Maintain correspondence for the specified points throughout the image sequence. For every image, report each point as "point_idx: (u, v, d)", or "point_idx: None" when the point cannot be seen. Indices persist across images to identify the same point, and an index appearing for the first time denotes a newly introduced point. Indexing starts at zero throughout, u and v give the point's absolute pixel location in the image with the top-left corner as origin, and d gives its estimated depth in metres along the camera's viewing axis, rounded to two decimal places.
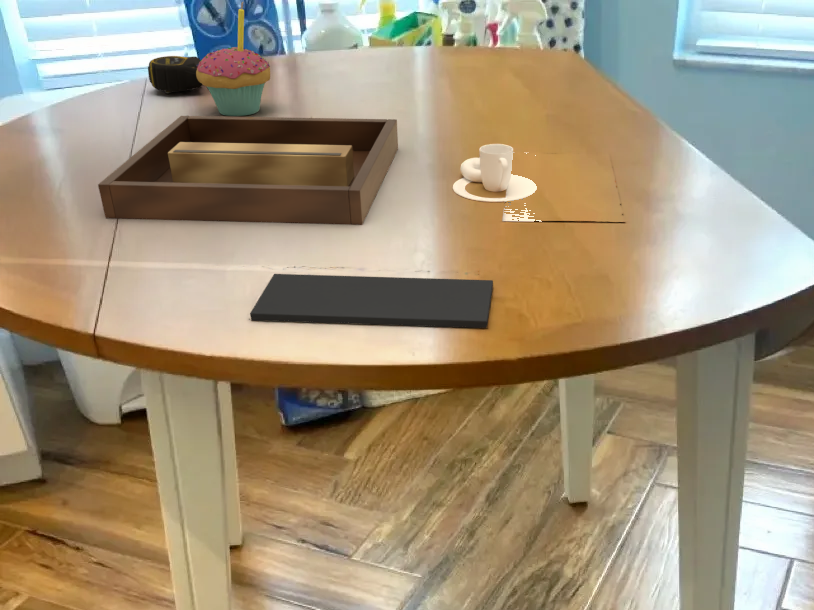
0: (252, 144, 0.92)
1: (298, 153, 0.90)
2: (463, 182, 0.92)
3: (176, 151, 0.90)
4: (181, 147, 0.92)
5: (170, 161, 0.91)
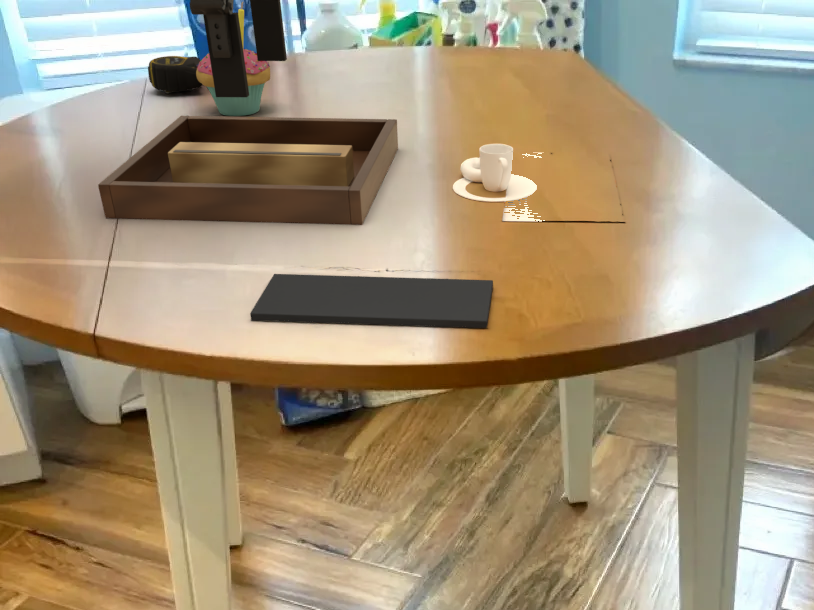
0: (252, 144, 0.92)
1: (298, 153, 0.90)
2: (463, 182, 0.92)
3: (176, 151, 0.90)
4: (181, 147, 0.92)
5: (170, 161, 0.91)
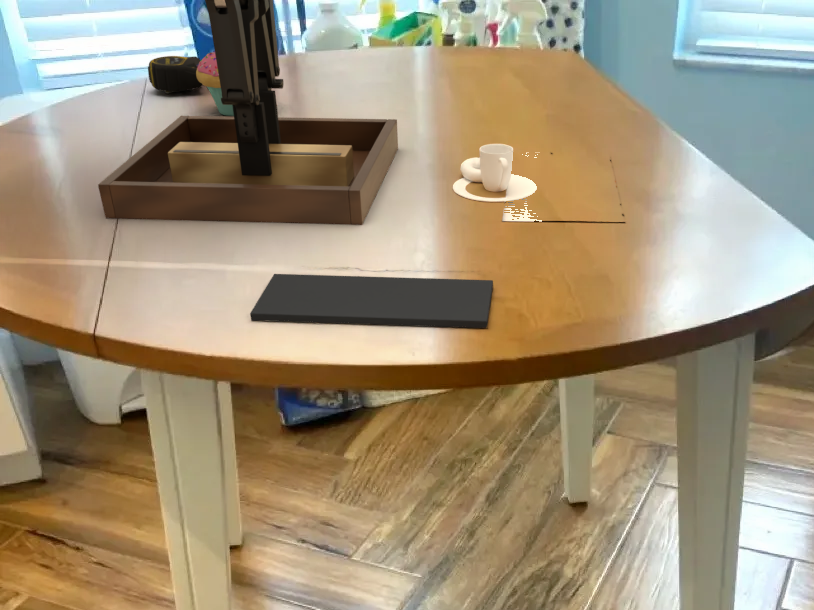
0: None
1: (298, 153, 0.90)
2: (463, 182, 0.92)
3: (176, 151, 0.90)
4: (181, 147, 0.92)
5: (170, 161, 0.91)
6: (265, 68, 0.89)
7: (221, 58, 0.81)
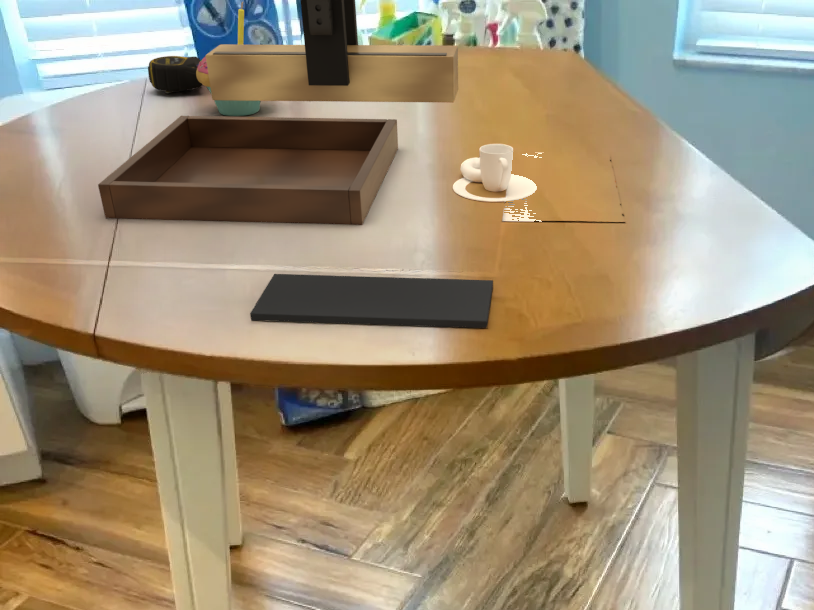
0: None
1: (387, 53, 0.65)
2: (463, 182, 0.92)
3: (217, 53, 0.65)
4: (223, 49, 0.67)
5: (209, 67, 0.66)
6: None
7: None
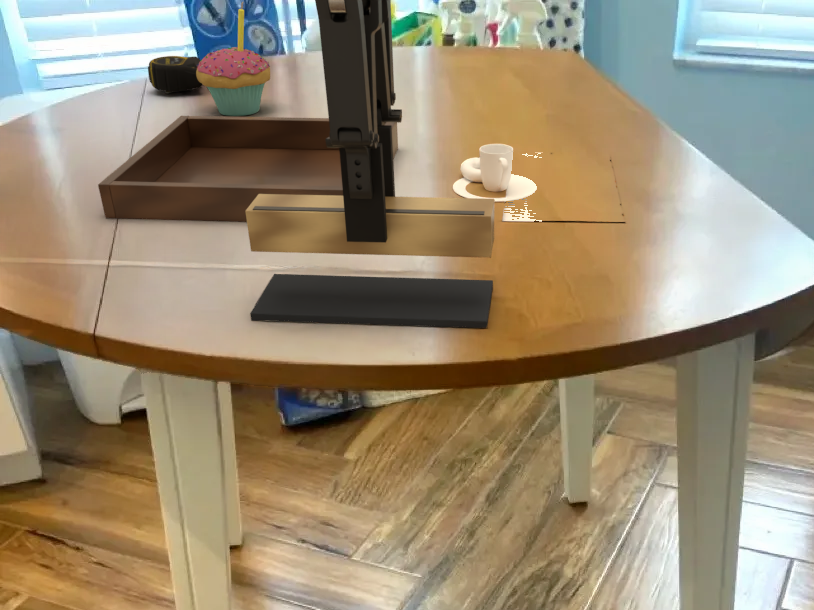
0: None
1: (425, 211, 0.65)
2: (463, 182, 0.92)
3: (257, 208, 0.66)
4: (262, 202, 0.67)
5: (248, 222, 0.66)
6: (380, 95, 0.65)
7: (333, 84, 0.57)
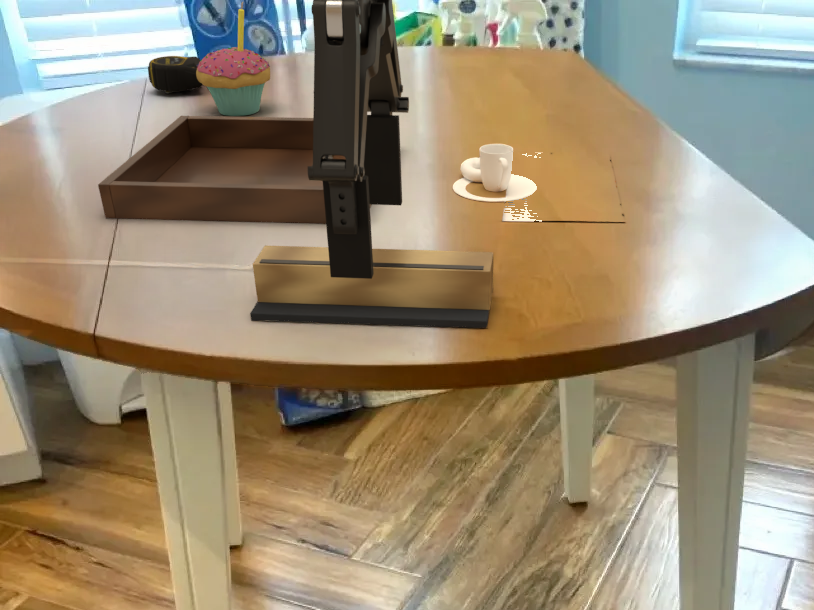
0: None
1: (426, 266, 0.68)
2: (463, 182, 0.92)
3: (263, 262, 0.68)
4: (268, 254, 0.70)
5: (255, 274, 0.69)
6: (388, 98, 0.69)
7: (322, 109, 0.55)
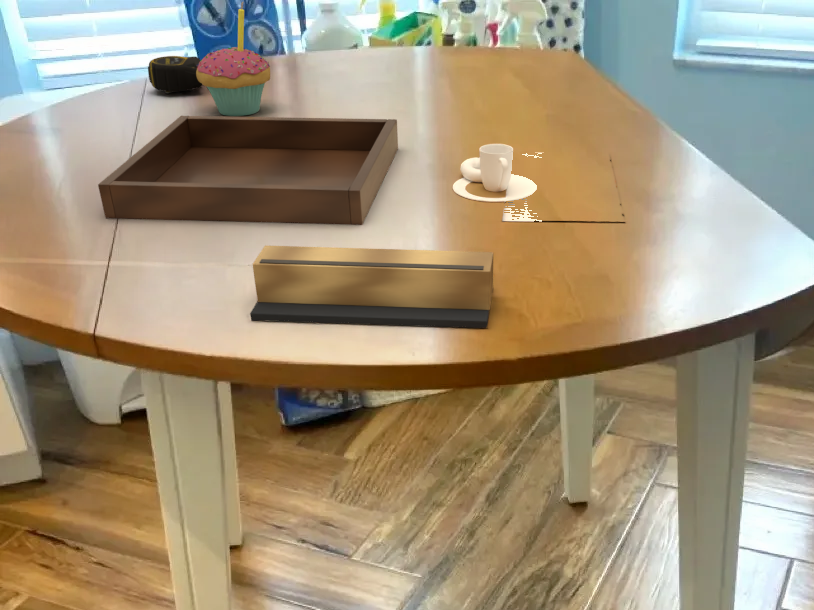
0: (361, 250, 0.70)
1: (426, 266, 0.68)
2: (463, 182, 0.92)
3: (263, 262, 0.68)
4: (268, 254, 0.70)
5: (255, 274, 0.69)
6: None
7: None
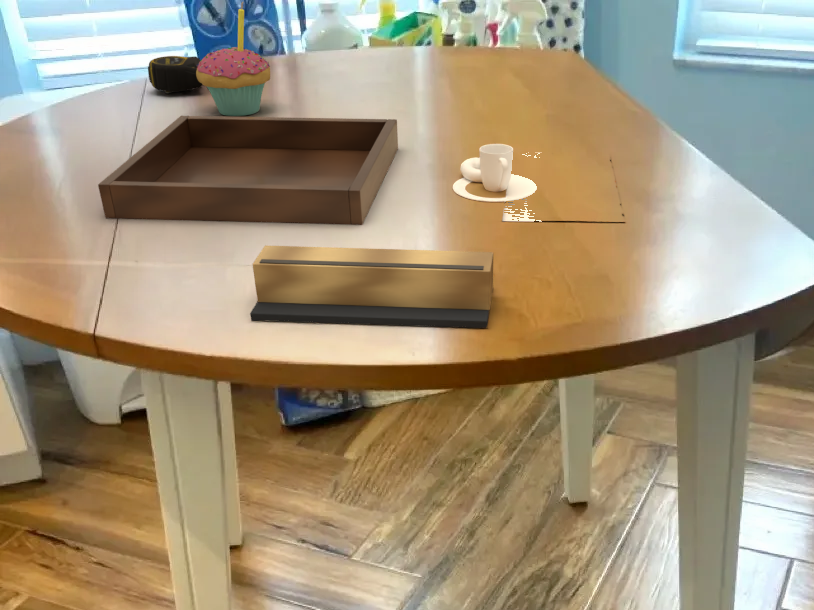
0: (361, 250, 0.70)
1: (426, 266, 0.68)
2: (463, 182, 0.92)
3: (263, 262, 0.68)
4: (268, 254, 0.70)
5: (255, 274, 0.69)
6: None
7: None
